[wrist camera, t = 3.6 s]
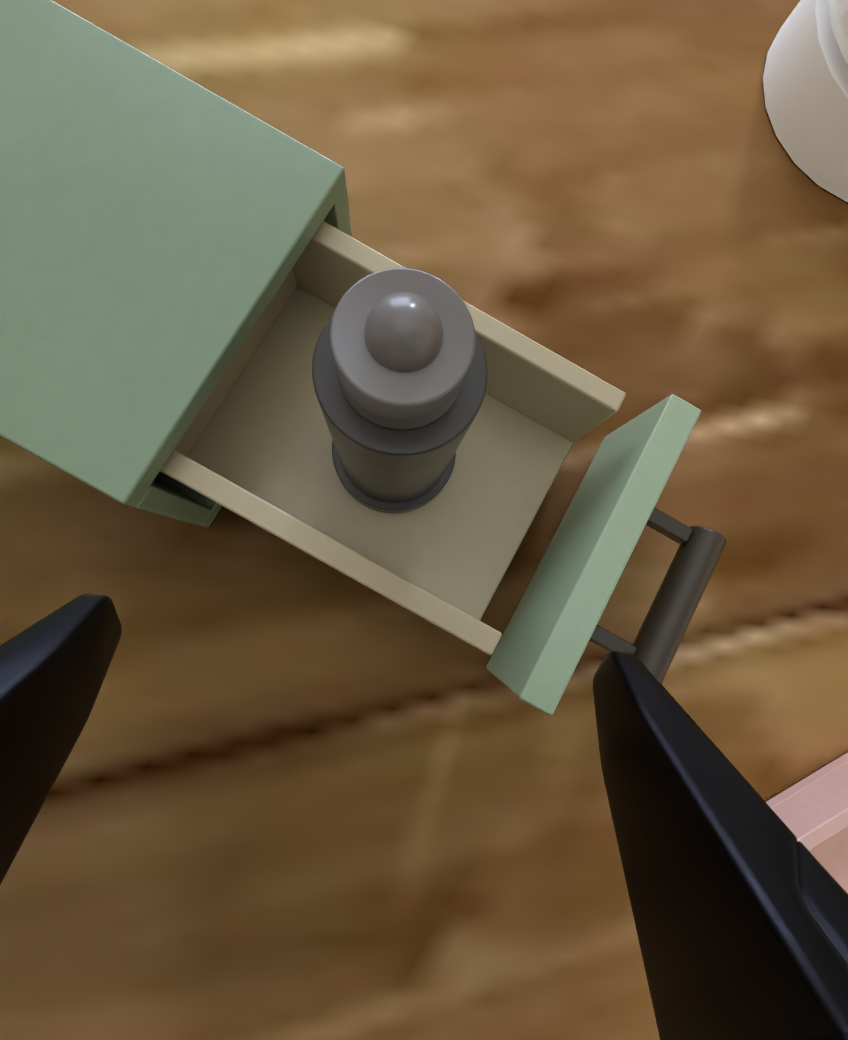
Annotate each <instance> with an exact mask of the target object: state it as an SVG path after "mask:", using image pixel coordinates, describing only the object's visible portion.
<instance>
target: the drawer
mask: <svg viewBox="0 0 848 1040" xmlns="http://www.w3.org/2000/svg"><path fill="white" fill-rule="evenodd" d="M390 268H405V267H403V266H401V265H400V264H398V263H396V262H394V261H393V260H391V259H389V258H387V257H386V256H384V255H382V254H380V253H379V252H377V251H375V250H373V249H372V248H370V247H368V246H366V245H365V244H363V243H361V242H359V241H358V240H356V239H354V238H352V237H351V236H349V235H347V234H345V233H344V232H342V231H340V230H338V229H337V228H335V227H333V226H331V225H330V224H328V223H326V222H324V221H323V222H322V223H321V225H320V226H319V228H318V229H317V231H316V232H315V234H314V236H313V237H312V239H311V240H310V242H309V243H308V245H307V246H306V248H305V249H304V251H303V252H302V254H301V255H300V257H299V258H298V260H297V262H296V263H295V265H294V266H293V268H292V269H291V271H290V272H289V274H288V275H287V277H286V278H285V280H284V281H283V283H282V285H281V286H280V288H279V289H278V291H277V292H276V294H275V295H274V297H273V298H272V300H271V301H270V303H269V304H268V306H267V307H266V309H265V311H264V312H263V314H262V315H261V317H260V318H259V320H258V321H257V323H256V324H255V326H254V327H253V329H252V330H251V332H250V334H249V335H248V337H247V338H246V340H245V341H244V343H243V344H242V346H241V347H240V349H239V350H238V352H237V353H236V355H235V356H234V358H233V360H232V361H231V363H230V364H229V366H228V367H227V369H226V370H225V372H224V373H223V375H222V376H221V378H220V379H219V381H218V382H217V384H216V386H215V387H214V389H213V390H212V392H211V393H210V395H209V396H208V398H207V399H206V401H205V402H204V404H203V405H202V407H201V409H200V410H199V412H198V413H197V415H196V416H195V418H194V419H193V421H192V422H191V424H190V425H189V427H188V428H187V430H186V431H185V433H184V435H183V436H182V438H181V439H180V441H179V442H178V444H177V445H176V447H175V448H174V450H173V451H172V453H171V454H170V456H169V457H168V459H167V461H166V462H165V464H164V465H163V467H162V468H161V470H160V471H161V472H162V473H164V474H166V475H168V476H170V477H171V478H173V479H175V480H177V481H178V482H180V483H182V484H184V485H186V486H187V487H189V488H191V489H193V490H195V491H196V492H198V493H200V494H202V495H204V496H205V497H207V498H209V499H211V500H212V501H214V502H216V503H218V504H220V505H221V506H223V507H225V508H227V509H229V510H230V511H232V512H234V513H236V514H237V515H239V516H241V517H243V518H245V519H246V520H248V521H250V522H252V523H254V524H255V525H257V526H259V527H261V528H263V529H264V530H266V531H268V532H270V533H271V534H273V535H275V536H277V537H279V538H280V539H282V540H284V541H286V542H288V543H289V544H291V545H293V546H295V547H297V548H298V549H300V550H302V551H304V552H305V553H307V554H309V555H311V556H313V557H314V558H316V559H318V560H320V561H322V562H323V563H325V564H327V565H329V566H330V567H332V568H334V569H336V570H338V571H339V572H341V573H343V574H345V575H347V576H348V577H350V578H352V579H354V580H356V581H357V582H359V583H361V584H363V585H364V586H366V587H368V588H370V589H372V590H373V591H375V592H377V593H379V594H381V595H382V596H384V597H386V598H388V599H390V600H391V601H393V602H395V603H397V604H398V605H400V606H402V607H404V608H406V609H407V610H409V611H411V612H413V613H415V614H416V615H418V616H420V617H422V618H423V619H425V620H427V621H429V622H431V623H432V624H434V625H436V626H438V627H440V628H441V629H443V630H445V631H447V632H449V633H450V634H452V635H454V636H456V637H457V638H459V639H461V640H463V641H465V642H466V643H468V644H470V645H472V646H474V647H475V648H477V649H479V650H481V651H482V652H484V653H486V654H488V655H492V656H491V658H490V660H489V662H488V664H487V666H486V668H487V670H489V671H490V672H491V673H492V674H493V675H494V676H495V677H496V678H498V679H499V680H500V681H501V682H502V683H503V684H504V685H505V686H506V687H508V688H509V689H510V690H511V691H512V692H513V693H514V694H515V695H517V696H518V697H519V698H520V699H521V700H523V701H525V702H526V703H528V704H530V705H532V706H534V707H535V708H537V709H539V710H541V711H543V712H544V713H546V714H548V715H551V716H552V715H553V713H554V711H555V709H556V707H557V705H558V703H559V701H560V699H561V697H562V695H563V693H564V691H565V689H566V687H567V685H568V683H569V681H570V679H571V677H572V675H573V673H574V670H575V668H576V666H577V664H578V662H579V660H580V658H581V656H582V654H583V652H584V650H585V648H586V646H587V644H588V642H589V640H590V641H591V642H593V643H595V644H597V645H599V646H600V647H602V648H604V649H606V650H607V651H611V650H617V651H627V652H631V653H633V654H634V655H635V656H637V658H638V659H639V660H640V661H641V662H642V663H643V664H644V665H645V667H646V668H647V669H648V670H649V671H650V672H651V673H652V674H653V676H654V677H655V678H656V679H657V680H658V681H659V682H660V683H662V681H663V679H664V677H665V675H666V673H667V671H668V668H669V666H670V664H671V662H672V660H673V658H674V655H675V653H676V651H677V649H678V647H679V645H680V642H681V640H682V638H683V636H684V634H685V631H686V629H687V627H688V625H689V623H690V621H691V618H692V616H693V614H694V612H695V610H696V608H697V605H698V603H699V601H700V599H701V597H702V595H703V592H704V590H705V588H706V586H707V584H708V582H709V579H710V577H711V575H712V573H713V571H714V569H715V566H716V564H717V562H718V560H719V558H720V556H721V553H722V551H723V549H724V547H725V545H726V539H725V538H724V537H723V536H722V535H721V534H719V533H717V532H715V531H713V530H710V529H708V528H704V527H699V526H691V527H688V526H686V525H684V524H683V523H681V522H679V521H677V520H676V519H674V518H672V517H670V516H669V515H667V514H665V513H663V512H662V511H660V510H658V509H656V508H654V507H655V505H656V503H657V501H658V499H659V497H660V495H661V493H662V491H663V488H664V486H665V484H666V482H667V480H668V478H669V476H670V474H671V472H672V470H673V468H674V466H675V464H676V462H677V460H678V458H679V456H680V454H681V452H682V450H683V448H684V446H685V443H686V441H687V439H688V437H689V435H690V433H691V431H692V429H693V427H694V425H695V423H696V421H697V419H698V417H699V415H700V413H701V410H700V409H698V408H696V407H695V406H693V405H691V404H689V403H688V402H686V401H684V400H682V399H681V398H679V397H677V396H675V395H673V394H672V395H670V396H668V397H667V398H665V399H664V400H662V401H661V402H659V403H657V404H656V405H654V406H653V407H651V408H649V409H648V410H646V411H645V412H643V413H642V414H640V415H638V416H637V417H635V418H634V419H632V420H631V421H629V422H627V423H626V424H624V425H623V426H621V427H620V428H618V429H616V430H615V431H613V432H612V433H610V434H609V435H607V436H605V437H604V439H603V441H602V443H601V445H600V447H599V449H598V451H597V453H596V455H595V457H594V459H593V461H592V463H591V465H590V467H589V468H588V470H587V472H586V474H585V476H584V478H583V480H582V482H581V484H580V486H579V488H578V490H577V492H576V494H575V496H574V498H573V499H572V501H571V503H570V505H569V507H568V509H567V511H566V513H565V515H564V517H563V519H562V521H561V523H560V525H559V527H558V529H557V530H556V532H555V534H554V536H553V538H552V540H551V542H550V544H549V546H548V548H547V550H546V552H545V554H544V556H543V558H542V560H541V561H540V563H539V565H538V567H537V569H536V571H535V573H534V575H533V577H532V579H531V581H530V583H529V585H528V587H527V589H526V591H525V592H524V594H523V596H522V598H521V600H520V602H519V604H518V606H517V608H516V610H515V612H514V614H513V616H512V618H511V620H510V622H509V623H508V625H507V627H506V629H505V631H504V633H503V635H502V634H501V632H499V631H497V630H495V629H494V628H492V627H490V626H488V625H486V624H485V623H483V622H481V621H480V620H481V618H482V616H483V614H484V612H485V611H486V609H487V607H488V605H489V603H490V601H491V599H492V597H493V595H494V593H495V591H496V590H497V588H498V586H499V584H500V582H501V580H502V578H503V576H504V574H505V572H506V571H507V569H508V567H509V565H510V563H511V561H512V559H513V557H514V555H515V553H516V552H517V550H518V548H519V546H520V544H521V542H522V540H523V538H524V536H525V534H526V532H527V531H528V529H529V527H530V525H531V523H532V521H533V519H534V517H535V515H536V513H537V512H538V510H539V508H540V506H541V504H542V502H543V500H544V498H545V496H546V494H547V493H548V491H549V489H550V487H551V485H552V483H553V481H554V479H555V477H556V475H557V473H558V472H559V470H560V468H561V466H562V464H563V462H564V460H565V458H566V456H567V454H568V453H569V451H570V449H571V447H572V445H573V443H574V442H575V441H576V440H578V439H579V438H581V437H582V436H583V435H585V434H586V433H588V432H589V431H590V430H592V429H593V428H595V427H596V426H598V425H599V424H600V423H602V422H603V421H605V420H606V419H607V418H609V417H610V416H612V415H613V414H614V413H616V412H617V411H618V409H619V407H620V406H621V404H622V402H623V400H624V398H625V395H626V394H625V393H624V392H623V391H621V390H619V389H617V388H616V387H614V386H612V385H610V384H609V383H607V382H605V381H603V380H602V379H600V378H598V377H596V376H595V375H593V374H591V373H589V372H588V371H586V370H584V369H582V368H581V367H579V366H577V365H575V364H573V363H572V362H570V361H568V360H566V359H565V358H563V357H561V356H559V355H558V354H556V353H554V352H552V351H551V350H549V349H547V348H545V347H544V346H542V345H540V344H538V343H537V342H535V341H533V340H531V339H530V338H528V337H526V336H524V335H523V334H521V333H519V332H517V331H516V330H514V329H512V328H510V327H509V326H507V325H505V324H503V323H502V322H500V321H498V320H496V319H495V318H493V317H491V316H489V315H487V314H486V313H484V312H482V311H480V310H479V309H477V308H475V307H473V306H472V305H470V304H468V303H466V302H465V301H464V302H465V304H466V306H467V308H468V310H469V312H470V314H471V317H472V319H473V323H474V327H475V331H476V333H477V335H478V337H479V339H480V341H481V343H482V346H483V349H484V352H485V356H486V360H487V370H488V377H487V387H486V393H485V396H484V399H483V402H482V405H481V407H480V409H479V411H478V413H477V415H476V417H475V419H474V420H473V422H472V424H471V426H470V427H469V429H468V431H467V433H466V434H465V436H464V438H463V440H462V441H461V443H460V445H459V447H458V448H457V450H456V459H455V464H454V468H453V471H452V474H451V476H450V478H449V480H448V481H447V483H446V484H445V486H444V487H443V489H442V490H441V492H440V493H439V494H438V495H437V496H436V497H435V498H434V499H433V500H432V501H430V502H429V503H427V504H426V505H425V506H423V507H421V508H419V509H416V510H413V511H410V512H405V513H396V514H393V513H383V512H378V511H375V510H372V509H370V508H368V507H366V506H364V505H362V504H361V503H359V502H358V501H357V500H355V499H354V498H353V497H352V496H351V495H350V494H349V493H348V492H347V490H346V489H345V488H344V486H343V485H342V483H341V481H340V479H339V477H338V475H337V472H336V469H335V467H334V463H333V458H332V441H333V439H332V436H331V434H330V431H329V428H328V426H327V423H326V420H325V418H324V415H323V412H322V410H321V407H320V404H319V402H318V399H317V396H316V393H315V390H314V385H313V379H312V360H313V354H314V350H315V346H316V343H317V340H318V338H319V335H320V334H321V332H322V330H323V328H324V326H325V325H326V323H327V322H328V321H329V319H330V318H331V317H332V316H333V314H334V312H335V309H336V307H337V305H338V303H339V301H340V300H341V298H342V297H343V296H344V294H345V293H346V292H347V291H348V290H349V289H350V288H351V287H352V286H353V285H354V284H355V283H357V282H358V281H359V280H361V279H362V278H364V277H366V276H367V275H370V274H372V273H374V272H377V271H381V270H384V269H390ZM645 525H647V526H649V527H651V528H653V529H654V530H656V531H658V532H660V533H661V534H663V535H665V536H667V537H668V538H670V539H672V540H674V541H676V542H677V543H681V544H680V546H679V548H678V550H677V552H676V555H675V557H674V559H673V561H672V563H671V565H670V567H669V569H668V571H667V574H666V576H665V578H664V580H663V582H662V584H661V586H660V588H659V590H658V592H657V595H656V597H655V599H654V601H653V603H652V605H651V607H650V609H649V611H648V614H647V616H646V618H645V620H644V622H643V624H642V626H641V628H640V630H639V632H638V635H637V637H636V639H635V641H634V643H633V645H632V644H631V643H629V642H627V641H625V640H623V639H622V638H620V637H618V636H616V635H615V634H613V633H611V632H609V631H607V630H606V629H604V628H602V627H600V626H599V625H597V623H598V621H599V619H600V617H601V615H602V613H603V611H604V609H605V607H606V605H607V603H608V601H609V599H610V597H611V595H612V593H613V591H614V589H615V587H616V585H617V583H618V580H619V578H620V576H621V574H622V572H623V570H624V568H625V566H626V564H627V562H628V560H629V558H630V556H631V554H632V552H633V550H634V548H635V546H636V544H637V542H638V540H639V538H640V536H641V533H642V531H643V529H644V527H645ZM501 636H502V637H501ZM500 638H501V639H500ZM499 640H500V641H499ZM498 642H499V643H498ZM497 644H498V645H497ZM496 646H497V647H496ZM495 648H496V649H495ZM494 650H495V651H494Z"/></svg>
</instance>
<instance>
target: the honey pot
mask: <svg viewBox="0 0 848 1040" xmlns="http://www.w3.org/2000/svg"><path fill="white" fill-rule="evenodd" d="M763 87H764V97H765V107H766V110H767V113H768V115H769V118H770V121H771V124H772V126H773V129H774V132H775V134H776V137H777V138H778V140H779V141H780V143H781V144H782V146H783V147H784V149H785V150H786V152H787V153H788V154H789V156H790V157H791V159H792V160H793V162H794V163H795V164H796V165H797V166H798V167H799V168H800V169H801V170H802V171H803V172H804V173H805V174H806V175H808V176H809V177H810V178H811V179H812V180H813V181H814V182H815V183H816V184H817V185H818V186H820V187H822V188H823V189H825V190H827V191H829V192H830V193H832V194H834V195H835V196H837V197H839V198H841V199H842V200H844V201H846V202H848V0H800V2H799V3H798V5H797V6H796V7H795V9H794V10H793V12H792V13H791V14H790V16H789V17H788V18H787V20H786V21H785V23H784V24H783V25H782V27H781V28H780V30H779V32H778V34H777V35H776V37H775V39H774V41H773V43H772V45H771V47H770V49H769V50H768V53H767V59H766V64H765V69H764V75H763Z"/></svg>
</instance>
